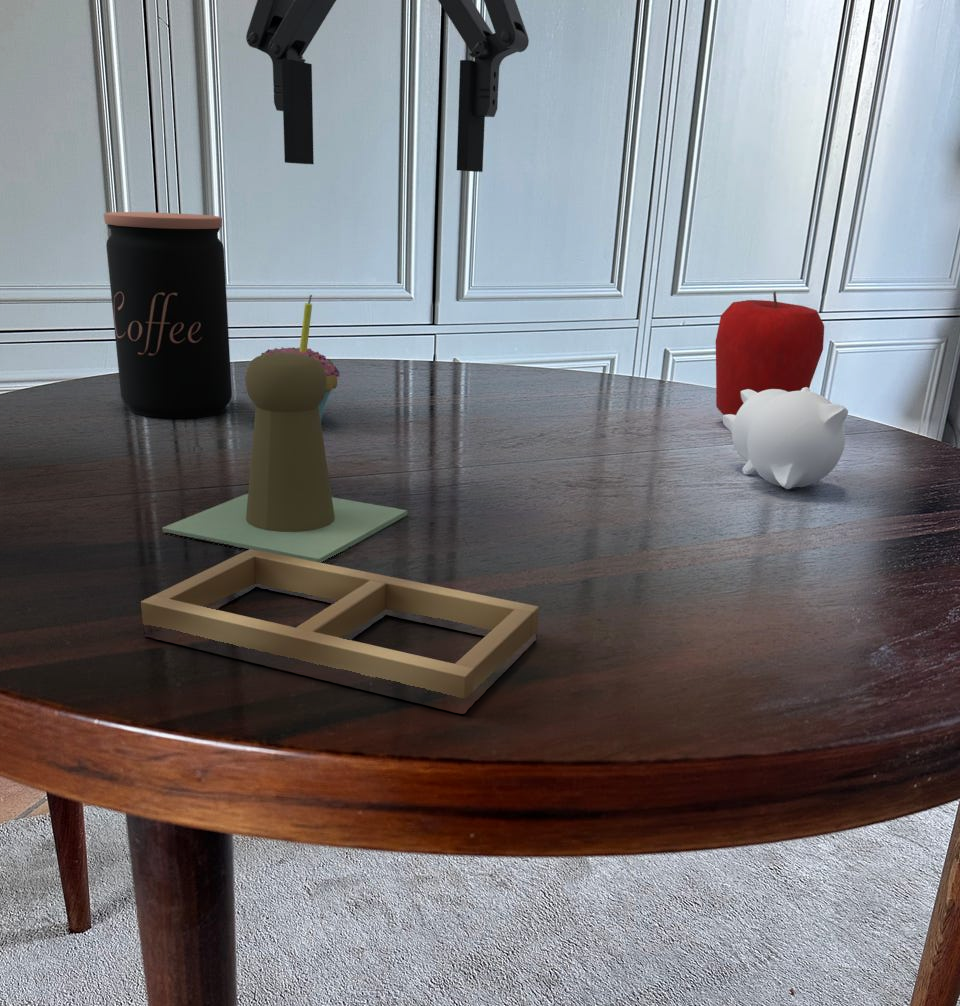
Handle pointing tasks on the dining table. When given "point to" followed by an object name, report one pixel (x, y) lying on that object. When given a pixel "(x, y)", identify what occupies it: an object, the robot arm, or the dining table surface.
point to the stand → (345, 619)
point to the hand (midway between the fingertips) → (381, 168)
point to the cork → (288, 445)
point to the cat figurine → (788, 435)
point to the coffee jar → (169, 313)
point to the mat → (312, 545)
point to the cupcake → (326, 363)
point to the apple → (765, 349)
